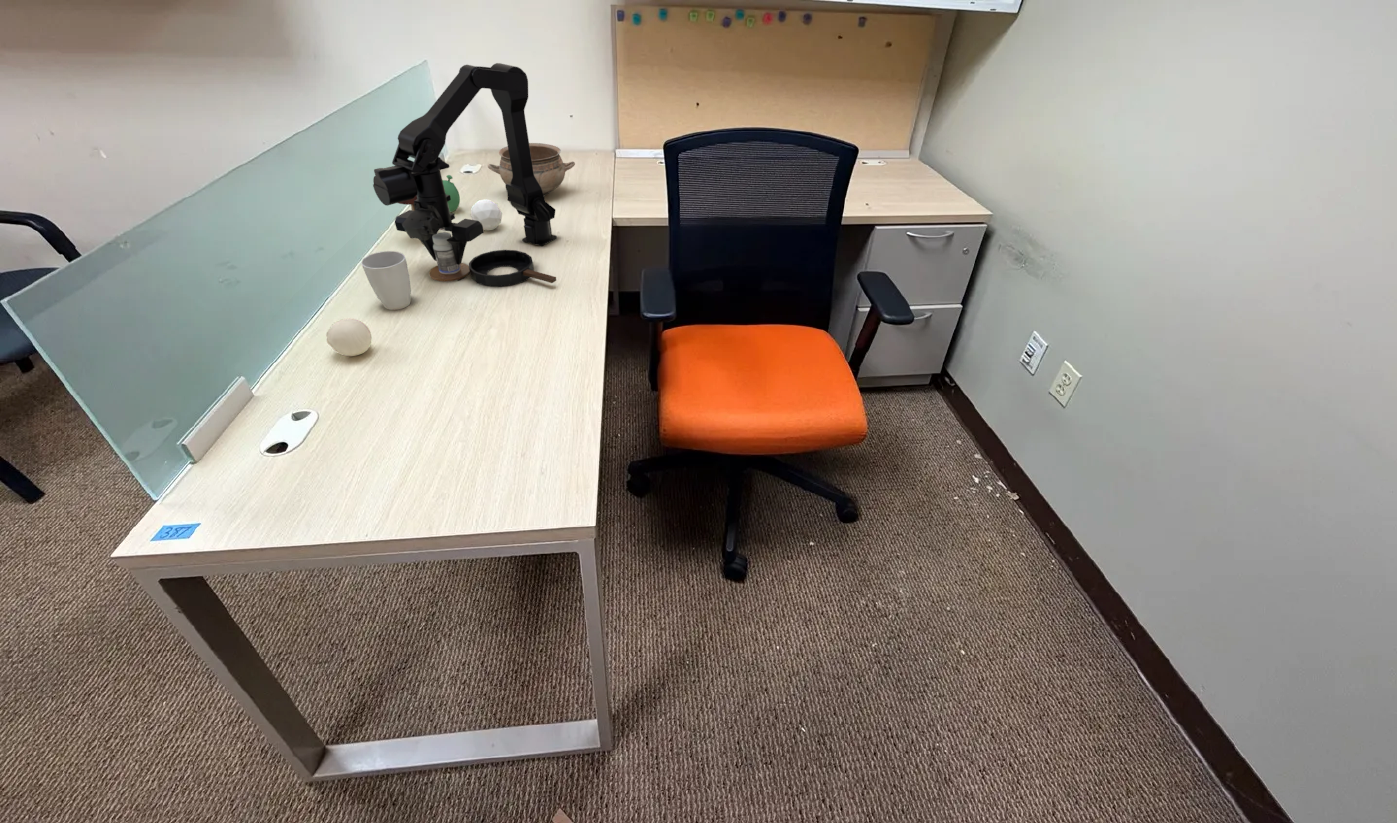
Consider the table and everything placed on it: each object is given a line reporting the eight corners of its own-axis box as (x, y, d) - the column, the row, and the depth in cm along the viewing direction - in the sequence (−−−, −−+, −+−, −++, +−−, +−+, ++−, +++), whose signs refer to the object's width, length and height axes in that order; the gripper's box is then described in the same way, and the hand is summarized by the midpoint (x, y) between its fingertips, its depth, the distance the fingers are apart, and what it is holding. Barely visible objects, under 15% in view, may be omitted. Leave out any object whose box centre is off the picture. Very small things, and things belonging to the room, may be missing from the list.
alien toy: (462, 205, 171) (454, 169, 165) (463, 214, 166) (455, 178, 159) (436, 207, 169) (427, 171, 163) (436, 217, 164) (426, 179, 158)
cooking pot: (575, 182, 190) (572, 141, 183) (579, 202, 176) (575, 159, 168) (494, 184, 186) (487, 143, 178) (491, 206, 171) (483, 162, 164)
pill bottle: (442, 266, 139) (433, 231, 134) (463, 266, 140) (455, 231, 134) (437, 275, 136) (427, 239, 130) (458, 275, 136) (449, 239, 131)
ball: (487, 241, 159) (467, 223, 152) (481, 221, 162) (461, 202, 155) (511, 226, 158) (491, 207, 150) (504, 206, 161) (485, 187, 154)
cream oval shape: (344, 342, 114) (331, 311, 110) (382, 343, 114) (371, 312, 109) (325, 361, 108) (312, 329, 104) (365, 363, 108) (353, 331, 104)
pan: (500, 255, 146) (498, 245, 144) (573, 275, 139) (572, 265, 137) (457, 277, 136) (455, 266, 134) (535, 300, 129) (533, 289, 127)
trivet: (450, 261, 143) (449, 259, 142) (479, 269, 140) (478, 267, 139) (420, 275, 136) (420, 273, 136) (450, 284, 133) (449, 282, 133)
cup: (426, 299, 128) (413, 254, 122) (399, 316, 122) (385, 271, 115) (395, 292, 130) (381, 248, 123) (367, 309, 124) (351, 263, 117)
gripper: (367, 199, 122) (389, 270, 132) (446, 211, 119) (462, 283, 128) (403, 183, 131) (421, 250, 141) (477, 194, 127) (491, 262, 137)
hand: (447, 262), depth 136 cm, fingers open, 6 cm apart
